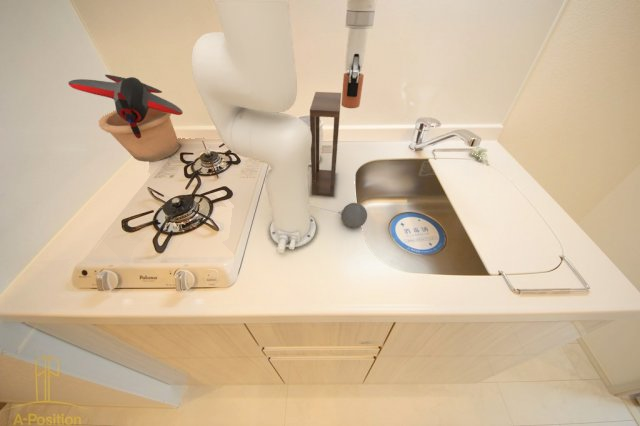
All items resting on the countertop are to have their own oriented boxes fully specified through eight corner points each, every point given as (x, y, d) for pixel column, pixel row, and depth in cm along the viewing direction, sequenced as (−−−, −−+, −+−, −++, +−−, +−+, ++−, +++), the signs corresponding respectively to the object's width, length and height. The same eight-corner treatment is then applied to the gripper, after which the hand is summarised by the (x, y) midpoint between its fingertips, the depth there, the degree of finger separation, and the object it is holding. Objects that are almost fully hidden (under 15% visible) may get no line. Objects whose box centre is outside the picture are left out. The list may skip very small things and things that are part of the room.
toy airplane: (72, 35, 63) (82, 84, 72) (52, 78, 52) (67, 129, 62) (183, 74, 79) (179, 110, 89) (185, 113, 68) (181, 149, 78)
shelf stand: (333, 196, 70) (339, 111, 50) (312, 195, 70) (309, 109, 50) (335, 174, 78) (341, 92, 58) (316, 172, 78) (315, 91, 58)
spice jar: (359, 108, 72) (364, 78, 65) (341, 107, 72) (343, 77, 66) (359, 102, 76) (363, 72, 70) (341, 101, 76) (344, 71, 70)
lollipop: (292, 226, 59) (301, 236, 65) (367, 220, 54) (368, 231, 60) (295, 197, 63) (303, 208, 69) (364, 188, 58) (366, 201, 64)
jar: (292, 155, 86) (288, 117, 75) (315, 149, 89) (315, 112, 78) (302, 169, 79) (299, 130, 68) (327, 163, 82) (328, 124, 71)
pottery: (129, 173, 77) (98, 135, 66) (123, 147, 89) (97, 111, 79) (192, 153, 86) (174, 117, 75) (179, 132, 98) (162, 98, 87)
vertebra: (484, 157, 79) (494, 149, 78) (468, 147, 83) (477, 140, 83) (483, 166, 84) (492, 159, 83) (468, 156, 88) (476, 150, 88)
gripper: (346, 16, 64) (341, 83, 77) (345, 23, 53) (339, 101, 66) (371, 17, 64) (362, 84, 77) (376, 24, 52) (364, 102, 65)
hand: (351, 92), depth 71 cm, fingers closed on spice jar, 6 cm apart
